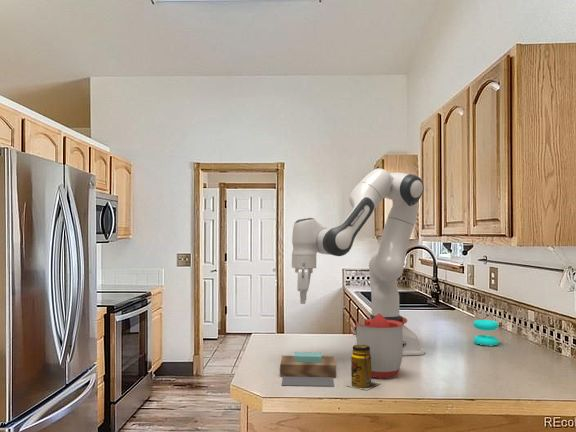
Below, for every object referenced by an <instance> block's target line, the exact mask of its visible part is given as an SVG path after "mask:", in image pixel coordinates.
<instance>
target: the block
mask: <svg viewBox="0 0 576 432" xmlns="http://www.w3.org/2000/svg"><path fill="white" fill-rule="evenodd" d="M293 356H294V362H305V363H322V356H323V355H322V352H318V351H317V352H316V351H315V352H313V351H295V352H294V355H293Z"/></svg>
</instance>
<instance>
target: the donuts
mask: <svg viewBox="0 0 576 432" xmlns="http://www.w3.org/2000/svg"><path fill="white" fill-rule="evenodd" d="M472 323H473V324H472V325H473V327H474V328H475V329H477V330H480V331H491V332H492V331H496V330H497V329H498V328H499V323H498V322H497V321H496V320H492V319H491V320H490V319H476V320H474V321H473V322H472ZM473 343H474V344H475V343H477V344H482V345H497V344H498V345H499V339H498V338H497V337H495V336H492V335H488V334H480V335H479V334H478V335H475V337H474V338H473ZM477 344H476V345H477ZM498 345H497V346H498Z"/></svg>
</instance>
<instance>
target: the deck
mask: <svg viewBox="0 0 576 432" xmlns="http://www.w3.org/2000/svg"><path fill="white" fill-rule="evenodd" d="M283 377H333V379H336V378H337V365H336V359H335V355H334V356H333V355H332V356H331V355H329V356H327V355H325V356H324V355H322V363H305V362H294V355H282V356H281V359H280V362H279V378H283Z"/></svg>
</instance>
